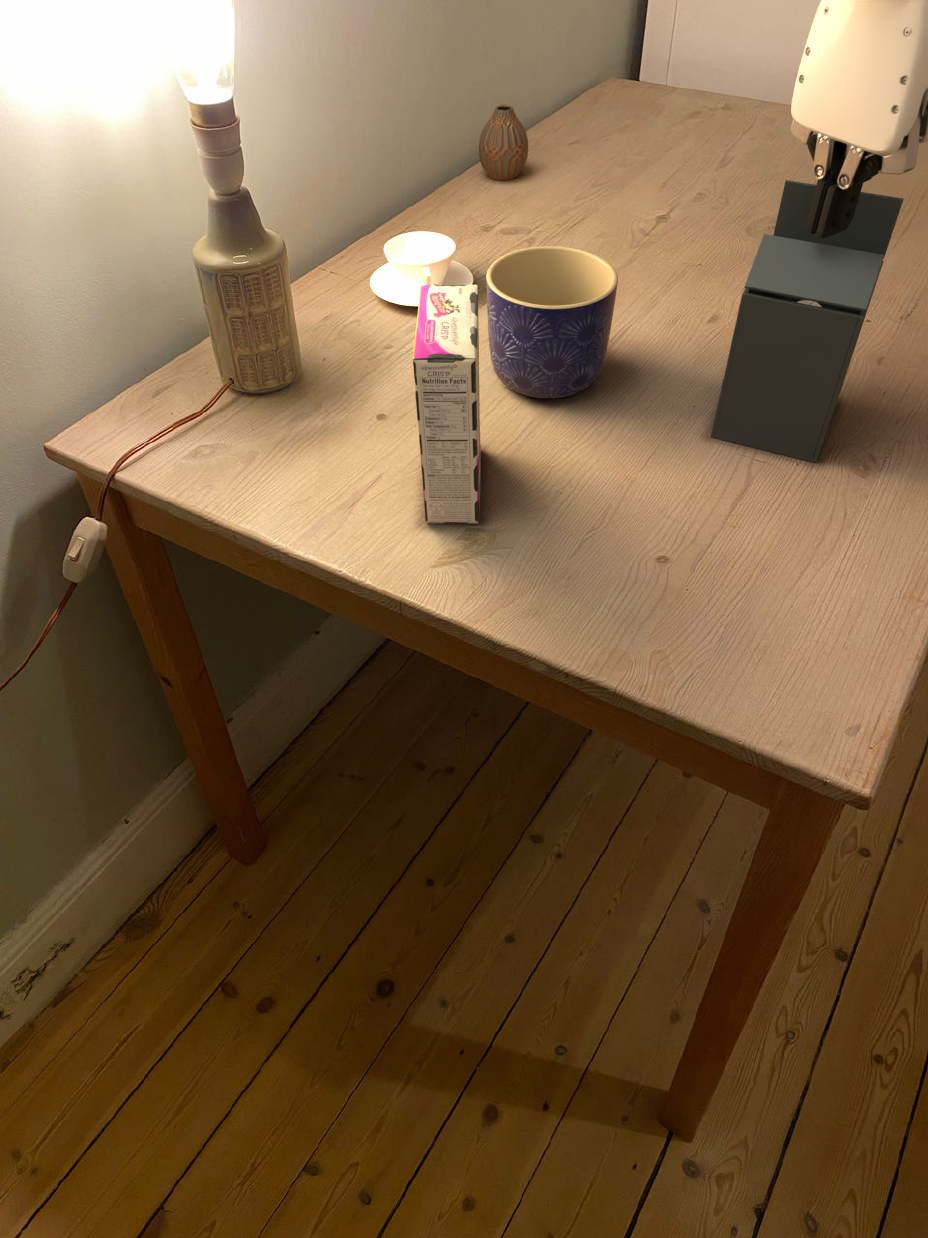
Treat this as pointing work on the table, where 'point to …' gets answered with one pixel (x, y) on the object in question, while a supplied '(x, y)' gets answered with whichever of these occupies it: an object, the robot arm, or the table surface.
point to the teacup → (417, 267)
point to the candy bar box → (448, 402)
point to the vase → (503, 144)
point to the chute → (796, 341)
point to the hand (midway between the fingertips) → (826, 230)
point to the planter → (549, 319)
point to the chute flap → (814, 272)
